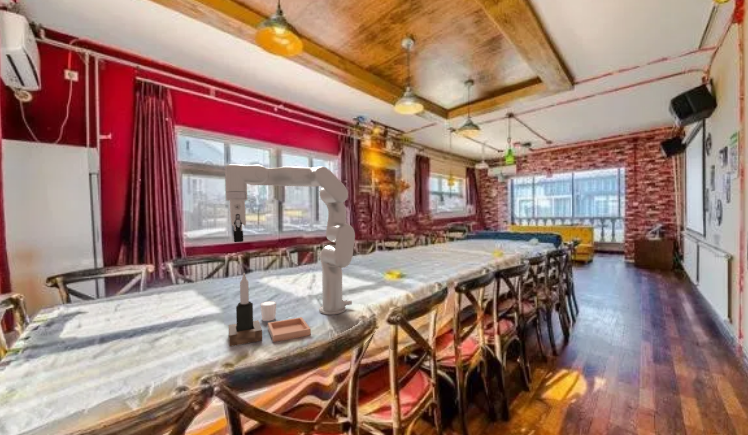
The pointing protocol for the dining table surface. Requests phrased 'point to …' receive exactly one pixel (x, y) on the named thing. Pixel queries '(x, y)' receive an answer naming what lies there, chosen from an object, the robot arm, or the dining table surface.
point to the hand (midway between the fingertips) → (238, 240)
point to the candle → (244, 308)
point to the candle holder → (245, 334)
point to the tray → (288, 329)
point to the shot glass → (268, 310)
